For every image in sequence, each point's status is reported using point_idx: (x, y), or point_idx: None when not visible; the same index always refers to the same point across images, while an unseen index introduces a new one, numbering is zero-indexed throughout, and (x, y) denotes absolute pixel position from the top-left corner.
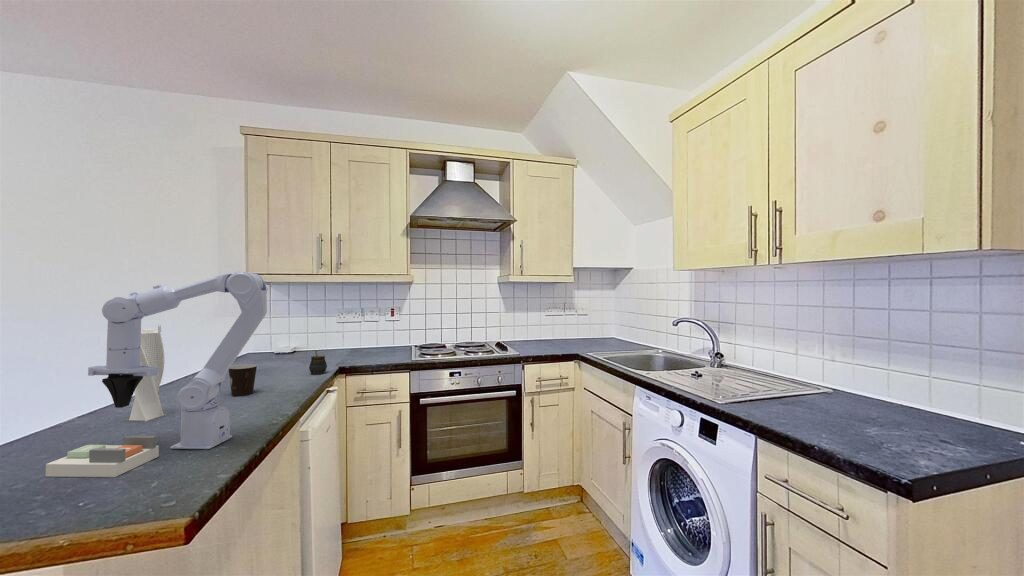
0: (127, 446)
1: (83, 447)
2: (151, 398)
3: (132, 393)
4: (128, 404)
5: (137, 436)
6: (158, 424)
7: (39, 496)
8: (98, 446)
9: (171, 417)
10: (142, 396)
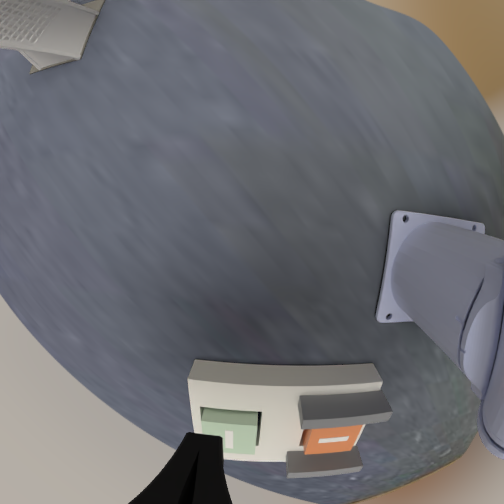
0: (330, 430)
1: (212, 434)
2: (42, 14)
3: (226, 491)
4: (221, 443)
5: (340, 422)
6: (134, 68)
7: (274, 476)
8: (247, 432)
9: (130, 12)
10: (16, 32)
